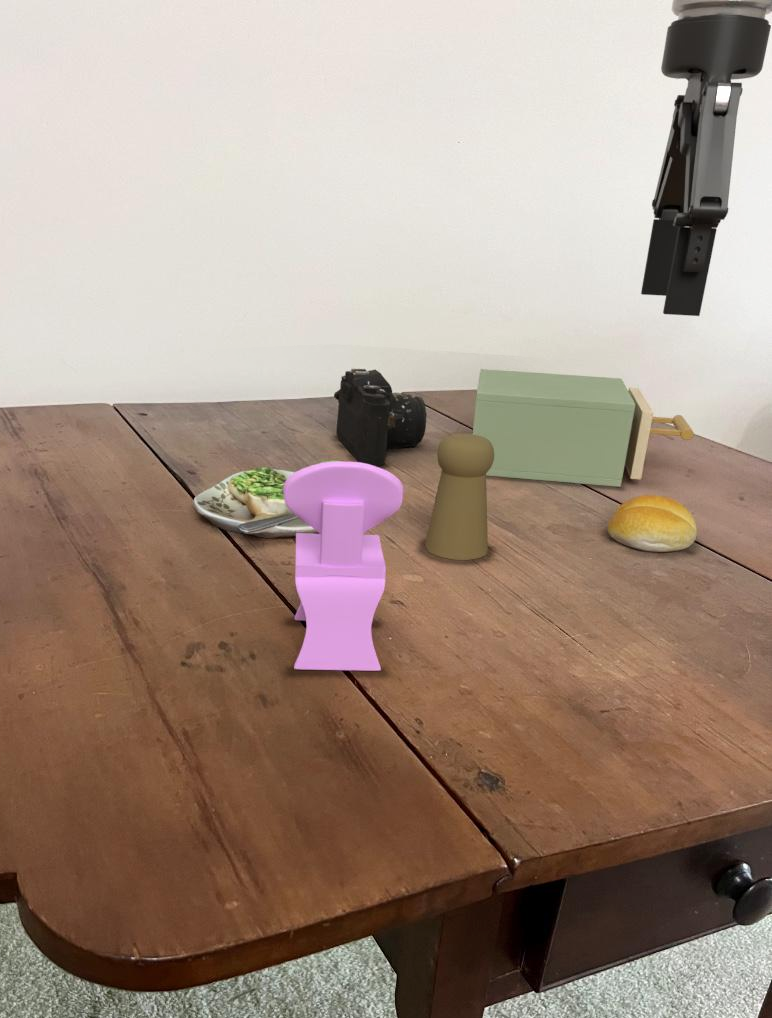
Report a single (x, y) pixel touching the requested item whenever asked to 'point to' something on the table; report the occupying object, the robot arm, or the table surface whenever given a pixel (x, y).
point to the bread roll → (653, 524)
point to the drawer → (648, 432)
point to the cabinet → (555, 426)
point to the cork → (461, 498)
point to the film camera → (376, 416)
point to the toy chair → (340, 560)
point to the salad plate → (252, 504)
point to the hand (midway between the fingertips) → (667, 304)
